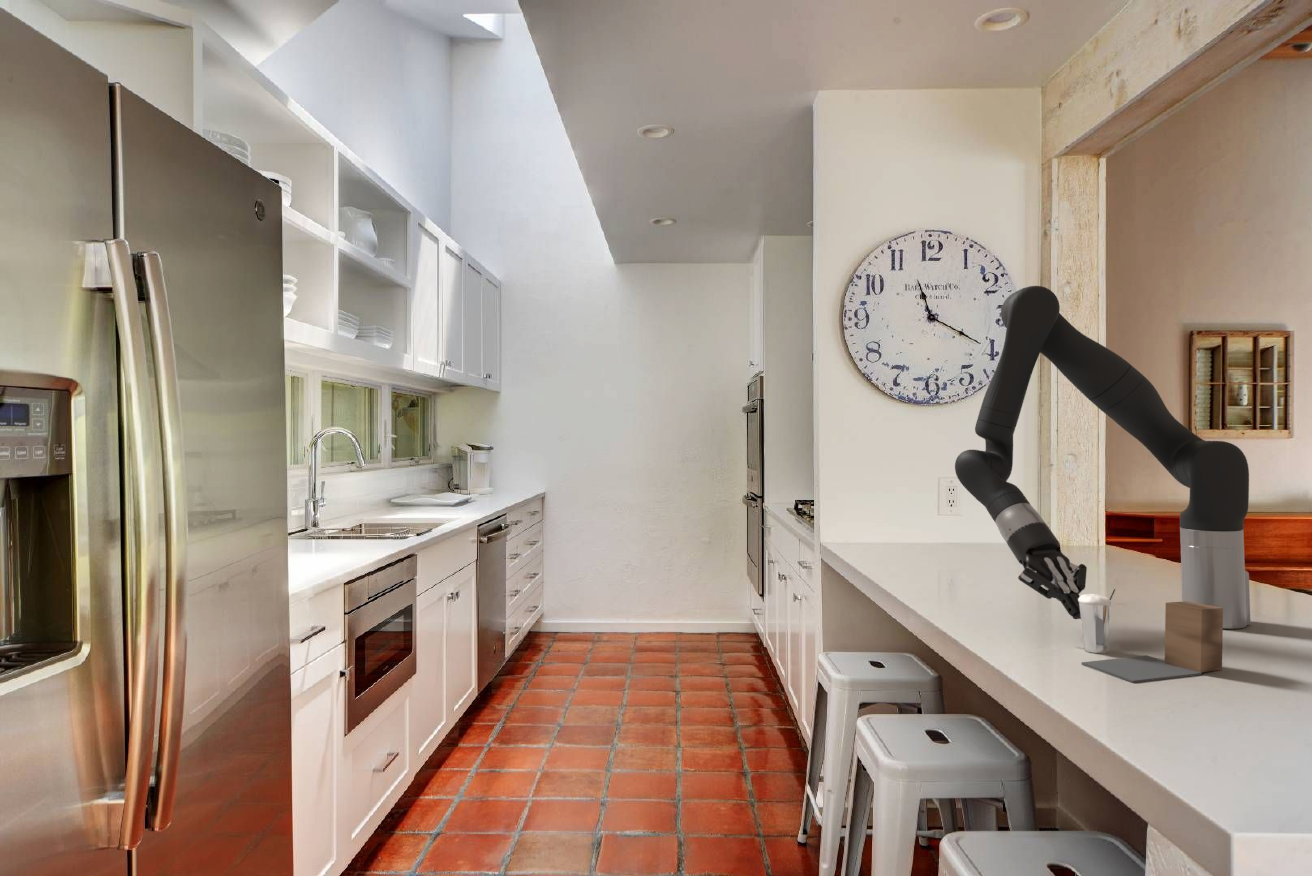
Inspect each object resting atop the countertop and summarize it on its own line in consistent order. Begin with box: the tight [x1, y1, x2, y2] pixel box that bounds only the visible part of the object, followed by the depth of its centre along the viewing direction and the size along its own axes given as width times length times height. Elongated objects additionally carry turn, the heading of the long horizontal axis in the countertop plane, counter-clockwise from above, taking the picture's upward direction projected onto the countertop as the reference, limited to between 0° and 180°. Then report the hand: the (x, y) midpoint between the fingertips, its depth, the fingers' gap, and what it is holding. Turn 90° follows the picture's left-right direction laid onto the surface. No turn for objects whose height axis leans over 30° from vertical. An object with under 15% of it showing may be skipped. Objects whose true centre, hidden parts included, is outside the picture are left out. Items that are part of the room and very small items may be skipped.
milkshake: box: [1078, 588, 1117, 654], centre depth 117 cm, size 4×5×10 cm
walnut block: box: [1164, 601, 1224, 673], centre depth 107 cm, size 5×5×9 cm
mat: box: [1081, 655, 1203, 684], centre depth 107 cm, size 12×9×1 cm
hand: (1082, 616), depth 120 cm, fingers closed
